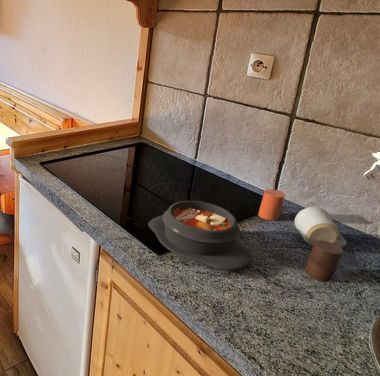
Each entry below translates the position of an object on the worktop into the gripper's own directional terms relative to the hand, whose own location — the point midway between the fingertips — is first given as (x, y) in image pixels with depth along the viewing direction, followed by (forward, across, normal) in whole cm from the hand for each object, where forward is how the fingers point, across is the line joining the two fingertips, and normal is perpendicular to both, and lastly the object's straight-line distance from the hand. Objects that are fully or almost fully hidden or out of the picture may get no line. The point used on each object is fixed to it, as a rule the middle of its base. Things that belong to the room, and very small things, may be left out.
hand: (379, 185), depth 92 cm
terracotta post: (+22, -11, -1) cm, 25 cm away
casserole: (+39, +7, -17) cm, 43 cm away
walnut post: (+22, +15, 0) cm, 27 cm away
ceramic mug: (+18, 0, +5) cm, 18 cm away
